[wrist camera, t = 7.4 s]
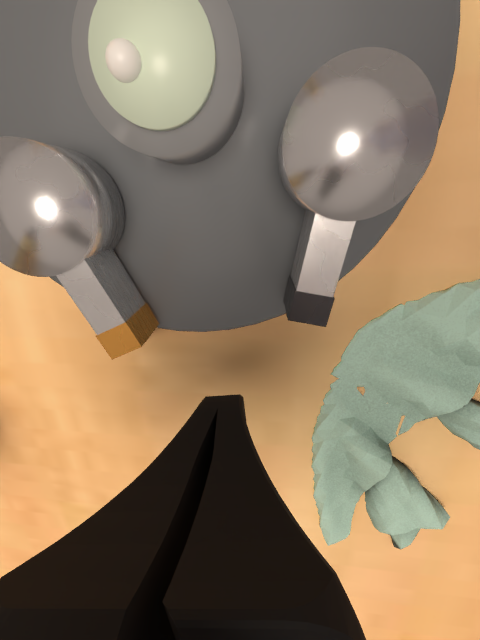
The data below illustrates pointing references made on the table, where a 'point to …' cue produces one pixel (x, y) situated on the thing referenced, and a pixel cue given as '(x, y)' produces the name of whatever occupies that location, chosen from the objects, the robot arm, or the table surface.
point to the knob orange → (71, 236)
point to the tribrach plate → (238, 193)
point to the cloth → (396, 411)
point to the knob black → (350, 161)
